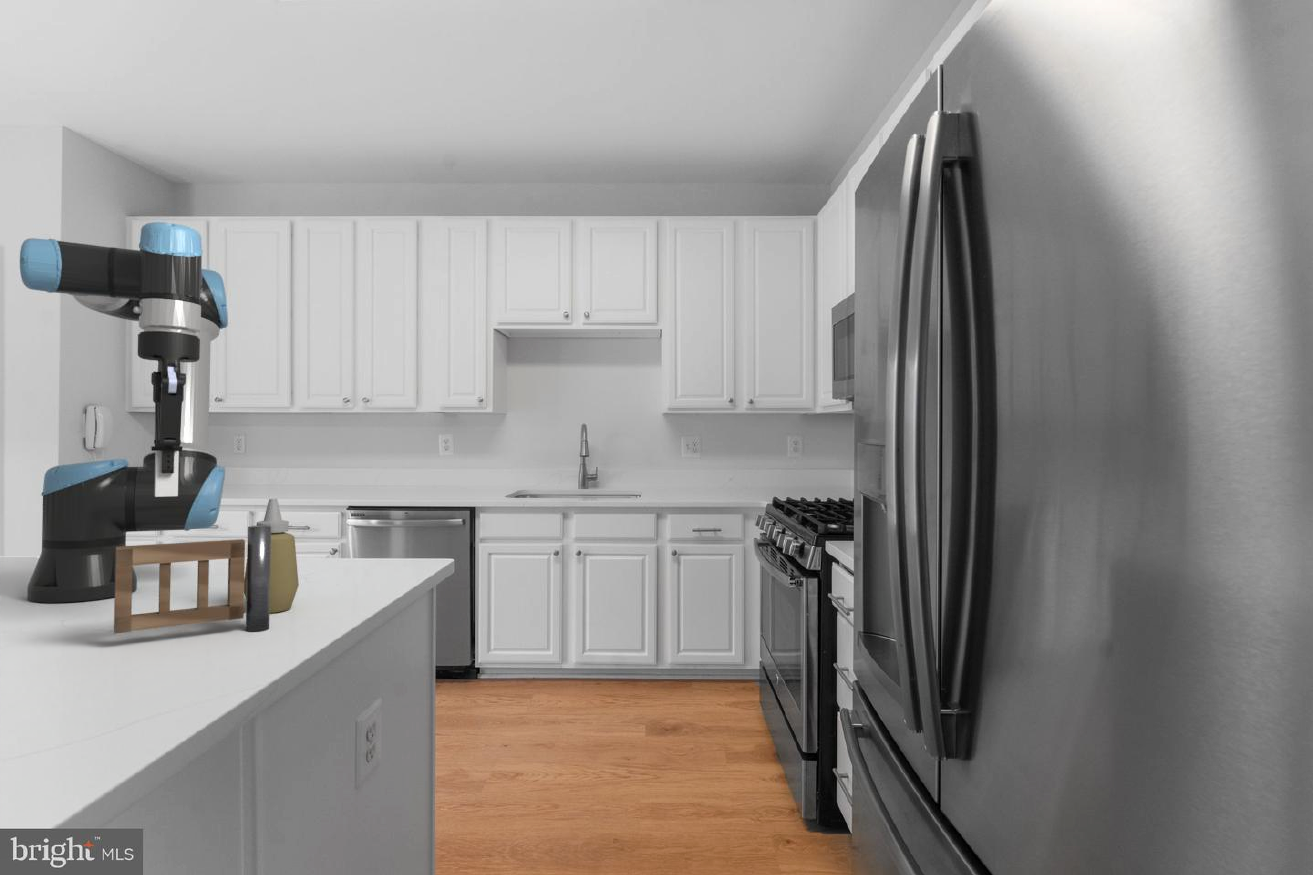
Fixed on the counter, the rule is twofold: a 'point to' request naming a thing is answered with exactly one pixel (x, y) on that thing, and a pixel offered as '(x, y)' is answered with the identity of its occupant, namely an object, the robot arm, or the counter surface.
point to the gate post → (258, 578)
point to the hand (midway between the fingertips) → (166, 495)
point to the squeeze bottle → (280, 561)
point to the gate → (165, 557)
